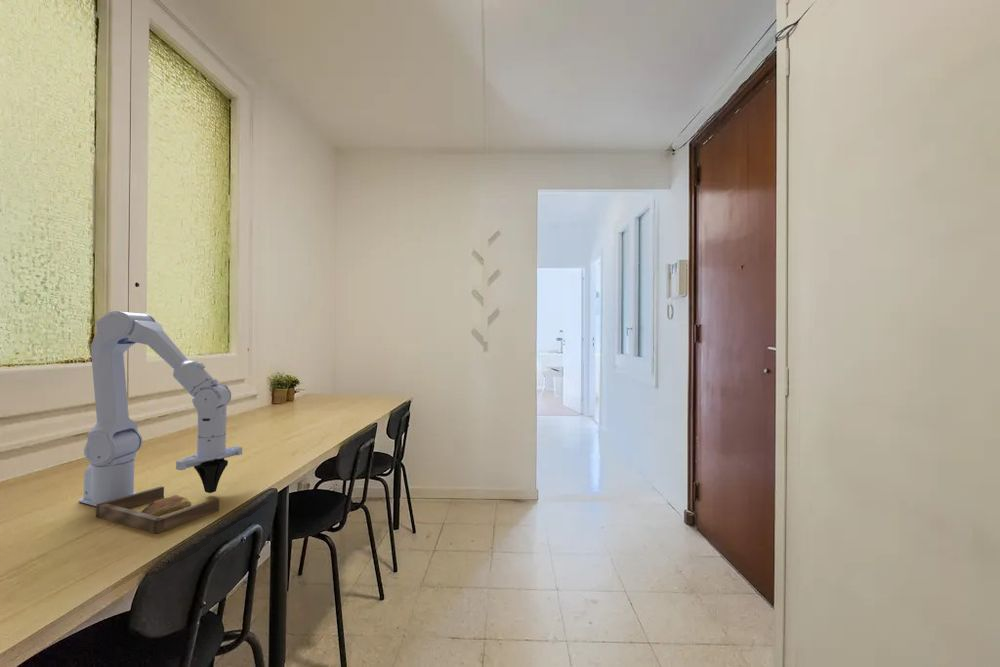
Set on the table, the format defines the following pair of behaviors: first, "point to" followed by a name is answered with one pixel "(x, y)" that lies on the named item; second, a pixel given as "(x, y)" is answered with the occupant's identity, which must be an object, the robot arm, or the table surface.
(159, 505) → the shard
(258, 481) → the table surface
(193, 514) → the frame
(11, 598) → the table surface
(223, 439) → the robot arm
